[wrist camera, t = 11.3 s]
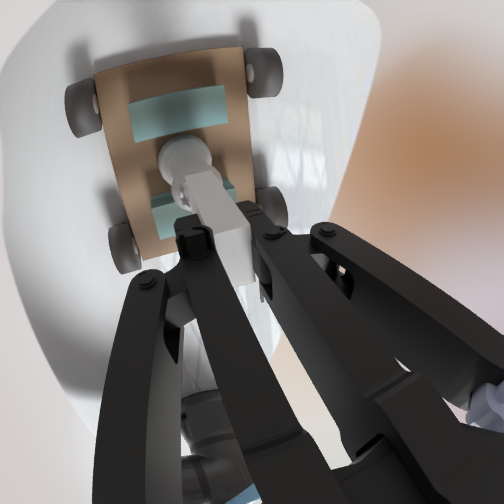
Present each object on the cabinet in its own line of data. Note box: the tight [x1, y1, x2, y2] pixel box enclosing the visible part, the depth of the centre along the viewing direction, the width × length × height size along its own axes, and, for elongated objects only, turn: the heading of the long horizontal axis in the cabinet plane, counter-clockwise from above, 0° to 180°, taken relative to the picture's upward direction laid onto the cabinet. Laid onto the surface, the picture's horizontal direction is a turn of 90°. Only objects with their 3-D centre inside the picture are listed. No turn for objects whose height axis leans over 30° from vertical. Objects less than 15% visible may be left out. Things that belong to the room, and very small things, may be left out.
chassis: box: [65, 47, 288, 274], centre depth 21 cm, size 18×16×4 cm
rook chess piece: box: [158, 135, 223, 212], centre depth 19 cm, size 4×4×8 cm
